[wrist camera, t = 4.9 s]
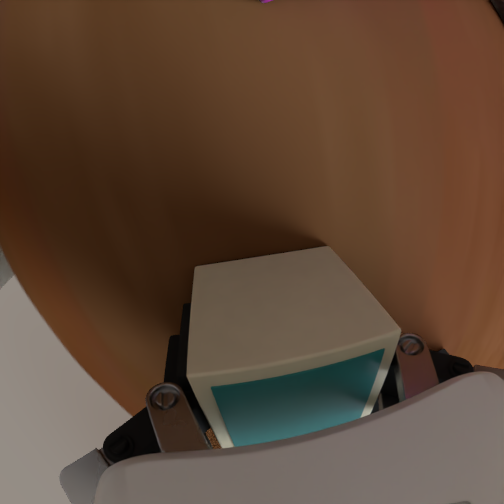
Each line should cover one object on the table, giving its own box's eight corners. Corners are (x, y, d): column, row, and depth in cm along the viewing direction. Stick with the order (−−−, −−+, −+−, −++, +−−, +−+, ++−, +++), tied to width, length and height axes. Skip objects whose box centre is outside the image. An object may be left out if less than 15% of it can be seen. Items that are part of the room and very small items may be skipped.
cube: (218, 360, 13) (226, 459, 8) (194, 265, 11) (185, 377, 6) (323, 341, 14) (365, 428, 9) (329, 244, 11) (404, 330, 6)
